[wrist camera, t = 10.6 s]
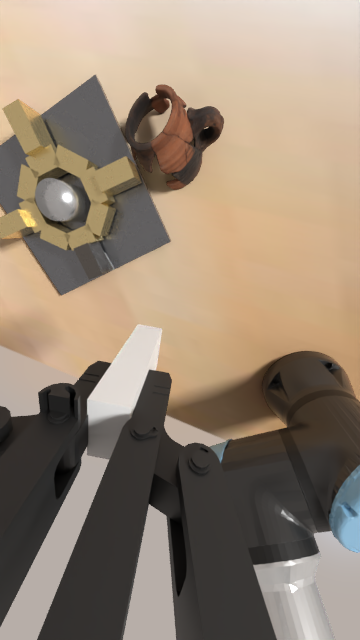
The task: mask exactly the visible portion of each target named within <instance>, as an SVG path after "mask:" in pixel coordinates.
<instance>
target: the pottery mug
mask: <svg viewBox="0 0 360 640" xmlns="http://www.w3.org/2000/svg"><path fill="white" fill-rule="evenodd" d="M156 93H157V95H155V96H154V97H152V98H151V99H149V97H148V94H147V93H145V92H144V93H142V94H141V96H139V98H138V99H137V100H136V102H135V103H134V104H133V106H132V108H131V110H130V112H129V115H128V118H127V122H126V129H125V134H126V139H127V142H128V143H129V144H130V146H131V151H132V155H133V158H134V160H136V159H137V158H138V161H139V162H140V164H141V165H142V166H143V169H144V170H145V171H147V172H150V173H151V172H152V167H151V165H152V161H153V159H154V157H155V155H156V156H157V160H158V163H159V166H160V169H161V171H163V172H164V173H166V174H169V173H172V175H173V176H174V177H176V178H177V179H174V180H171V181H167V186H169V187H170V188H172V189H174V190H175V189H180V188H182V187H184V186H186V185H188V184H189V183H190V182H191V181H193V179H194V178H195V177H196V176H197V174H198V172H199V170H200V167H201V164H202V152H203V151H204V150H205V149H206V148H207V147H208V146H209V145H211V144H212V143H214V142H215V141H216V140H217V139H218V138H219V136H220V134H221V132H222V129H223V124H224V119H223V117H222V116H221V115H220V112H219V111H218V110H217V109H216V108H215V107H211V106H207V107H204V108H201V109H193V108H188V110H187V113H186V110H185V109H184V108H185V107H186V103H185V102H184V101H183V100H182V99H181V98H180V97H179V96H177V95H176V93H175V91H174V90H173V89H172V88H171V87H169V86H167V85H158V86H156ZM166 98H168V99H170V100H171V103H172V110H171V114H170V118H169V120H168V122H167V125H166V126H165V128H164V129H163V131H162V132H161V133H160V134H159V135H158V136H157V137H156V138H155V139H153V140H152V141H151V142H148V143H144V144H140V143H137V142H136V141H135V139H134V138H135V133H136V131H137V129H138V126H139V124H140V122H141V120H142V118H143V117H144V116H145V115H146V114H148V113H149V112H150V111H152V110H153V109H155V110H156V111H158V112H159V113H164V112H165V111H166V110H167V109H168V108H169V106H170V105H169V101H168V100H166ZM206 127H208V128H207V129H204V128H206ZM193 138H194V147H193V146H192V145H191V144H190V143H191V141H192V140H193ZM136 155H137V158H136Z"/></svg>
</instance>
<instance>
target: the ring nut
mask: <svg viewBox="0 0 360 640" xmlns="http://www.w3.org/2000/svg"><path fill="white" fill-rule="evenodd" d="M3 111H4V113H5V115H6V117H7V119H8V121H9V123H10V125H11V127H12V129H13V131H14V133H15V135H16V137H17V138H18V140H19V142H20V144H21V146H22V148H23V150H24V152H25V154H27V155H29V156H28V157H26V158H25V159H26V161H27V163H28V165H29V166H26V165H23V164H21V170H20V178H19V185H18V192H17V196H18V197H20V198H22V199H24V200H25V201H23V202H21V203H19V205H20V207H21V209H22V210H21V209H17V210H14V211H12V212H10V213H8V214H6V215H4V216H2V217H0V238H1V239H9V238H22V237H24V236H26V235H28V234H31V233H33V232H34V233H41V235H40V238H41V239H43V240H45V241H47V242H49V243H52V244H54V245H56V246H58V247H60V248H62V249H64V250H72V251H75V253H76V255H77V257H78V259H79V261H80V263H81V265H82V267H83V269H84V271H85V273H86V275H87V277H88V279H89V280H90V279H92V278H95V277H98V276H100V275H103V274H105V273H107V272H109V271H111V270H112V268H111V266H110V264H109V262H108V259H107V257H106V255H105V253H104V251H103V249H102V246H101V244H100V241H103V240H104V239H103V236H108V233H109V230H110V227H111V224H112V221H113V217H114V214H115V211H116V209H115V208H113V207H111V206H109V205H111V204H113V203H115V200H114V197H113V196H114V195H116V194H119V193H121V192H123V191H125V190H127V189H130V188H132V187H134V186H136V185H138V184H141V183H142V182H141V180H140V177H139V174H138V171H137V169H136V166H135V164H134V163H133V162H132V161H131V160H130V159H129V158H128V157H127V156H125V157H123V158H121V159H119V160H117V161H115V162H113V163H111V164H109V165H107V166H104V167H102V168H100V169H98V166H97V165H96V164H94V163H92V162H91V161H89V160H87V159H85V158H83V157H81V156H79V155H77V154H76V153H74V152H72V151H70V150H68V149H66V148H64V147H62V146H60V145H58V146H57V147H55V145H54V143H53V141H52V138H51V136H50V134H49V132H48V130H47V128H46V125H45V123H44V121H43V119H42V117H41V115H40V114H39V113H37V112H36V111H34V110H33V109H32V108H30V107H29V106H27V105H26V104H25V103H23V102H22V101H20V100H19V99H17V100H16V101H14V102H13V103H11V104H9V105H8V106H6V107H4V108H3ZM67 173H71V174H73V175H75V176H77V177H79V178H80V179H81V181H82V184H83V186H84V188H85V190H86V193H87V195H88V197H89V199H90V201H91V206H90V210H89V213H88V217H87V221H86V225H85V226H83V227H80V228H78V229H76V230H74V231H72V230H70V229H68V228H66V227H64V226H62V225H59V224H58V222H57V221H54V220H51V219H49V218H47V217H46V216H45V215H43V214H42V212H41V211H40V210H39V208H38V206H37V203H36V199H35V190H36V187H37V185H38V183H39V182H40V181H41V180H43V179H45V178H54V179H57V178H59V177H61V176H63V175H65V174H67Z"/></svg>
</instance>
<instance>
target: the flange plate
mask: <svg viewBox="0 0 360 640" xmlns="http://www.w3.org/2000/svg"><path fill="white" fill-rule="evenodd" d="M41 117H42V119H43V121H44V123H45V125H46V128H47V130H48V132H49V134H50V136H51V138H52V141H53V143H54V145H55V147H57V146H58V145H60V146H62V147H64V148H66V149H68V150H70V151H72V152H74V153H76V154H77V155H79V156H81V157H83V158H85V159H87V160H89V161H91V162H92V163H94V164H96V165H97V166H98V169H100V168H102V167H104V166H107V165H109V164H111V163H113V162H115V161H117V160H119V159H121V158H123V157H125V156H127V157H128V158H129V159H130V160H131V161H132V162H133V163H134V164H135V166H136V169H137V171H138V174H139V177H140V180H141V182H142V183H141V184H138V185H136V186H134V187H132V188H130V189H127V190H125V191H123V192H121V193H119V194H116V195H114V196H113V197H114V200H115V203H113V204H111V205H109V206H111V207H113V208H115V209H116V211H115V214H114V217H113V221H112V224H111V227H110V230H109V233H108V236H103V239H104V240H103V241H100V244H101V246H102V249H103V251H104V253H105V255H106V257H107V259H108V262H109V264H110V266H111V268H112V270H114V269H116V268H118V267H120V266H122V265H124V264H126V263H128V262H130V261H132V260H134V259H136V258H138V257H140V256H142V255H144V254H146V253H148V252H150V251H152V250H154V249H156V248H158V247H160V246H162V245H164V244H167V243H169V242H171V240H170V237H169V235H168V233H167V231H166V229H165V226H164V224H163V222H162V220H161V217H160V215H159V213H158V211H157V208H156V206H155V204H154V202H153V200H152V197H151V195H150V193H149V191H148V188H147V186H146V184H145V182H144V179H143V177H142V175H141V173H140V171H139V168H138V166H137V164H136V162H135V160H134V158H133V155H132V153H131V151H130V148H129V146H128V144H127V142H126V139H125V137H124V135H123V133H122V130H121V128H120V126H119V124H118V122H117V119H116V117H115V115H114V113H113V110H112V108H111V106H110V104H109V101H108V99H107V97H106V95H105V93H104V90H103V88H102V86H101V84H100V81H99V79H98V78H97V76H96V75H94V76H93V77H91V78H90V79H89V80H87V81H86V82H85V83H83V84H82V85H81V86H79V87H78V88H77V89H75V90H74V91H73V92H71V93H70V94H69V95H67V96H66V97H65V98H63V99H62V100H61V101H59V102H58V103H57V104H55V105H54V106H53V107H51V108H50V109H49V110H47V111H46V112H45V113H43V114H42V115H41ZM28 156H29V155H27V154H25V152H24V150H23V148H22V146H21V144H20V142H19V140H18V138H17V137H16V135H14V136H13V137H11V138H10V139H9V140H7V141H6V142H5V143H3V144H2V145H1V146H0V204H1V205H2V207H3V208H4V210H5V211H6V213H7V214H8V213H10V212H12V211H14V210H17V209H21V207H20V205H19V203H21V202H23V201H25V200H24V199H22V198H20V197H18V196H17V192H18V185H19V178H20V170H21V164H23V165H26V166H29V165H28V163H27V161H26V159H25V158H26V157H28ZM35 199H36V203H37V206H38V208H39V210H40V211H41V212H42V214H43V215H45V216H46V217H47V218H49V219H51V220H54V221H57V222H58V224H59V225H62V226H64V227H66V228H68V229H70V230H72V231H74V230H76V229H78V228H80V227H83V226H85V225H86V221H87V217H88V213H89V210H90V206H91V201H90V199H89V197H88V195H87V193H86V190H85V188H84V186H83V184H82V181H81V179H80V178H79V177H77V176H75V175H73V174H71V173H67V174H65V175H63V176H61V177H59V178H57V179H54V178H45V179H43V180H41V181H40V182H39V183H38V185H37V187H36V190H35ZM21 210H22V209H21ZM40 235H41V233H34V232H33V233H31V234H28V235H26V236H24V237H23V238H24V240H25V241H26V243H27V244H28V246H29V247H30V249H31V250H32V252H33V253H34V255H35V257H36V258H37V260H38V261H39V263H40V264H41V266H42V267H43V269H44V270H45V272H46V273H47V275H48V276H49V278H50V279H51V281H52V282H53V284H54V285H55V287H56V288H57V290H58V291H59V293H60V294H61V295H63V294H65V293H67V292H69V291H71V290H73V289H75V288H77V287H79V286H81V285H83V284H85V283H88V282H90V281H92V280H94V279H96V278H98V277H100V276H102V275H100V276H98V277H95V278H92V279H90V280H89V279H88V277H87V275H86V273H85V271H84V269H83V267H82V265H81V263H80V261H79V259H78V257H77V255H76V253H75V251H72V250H64V249H62V248H60V247H58V246H56V245H54V244H52V243H49V242H47V241H45V240H43V239H41V238H40ZM112 270H111V271H112ZM109 272H110V271H109ZM107 273H108V272H107ZM105 274H106V273H105ZM103 275H104V274H103Z"/></svg>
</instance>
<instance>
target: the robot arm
mask: <svg viewBox="0 0 360 640" xmlns="http://www.w3.org/2000/svg"><path fill="white" fill-rule="evenodd" d="M161 334H162V328H156V327H151V326H145V325H139V324H138V325H137V326H136V328H135V329H134V331H133V332H132V334H131V335H130V337H129V338H128V340H127V341H126V343H125V344H124V346H123V347H122V349H121V350H120V352H119V353H118V355H117V356H116V358H115V359H114V361H113V362H112V363H108V362H102V361H97V362H96V363H94V364H92V365H90V366H89V367H88V369H87V370H86V371H85V372H84V374H83V375H82V376H81V377H80V378H79V380H78V381H77V382H76V383H75V384H74V385H72V384H69V383H59V384H53V385H51V386H48V387H46V388H44V389H42V390H41V391H40V392H39V393H38V395H39V404H40V413H39V414H37V415H31V416H18V417H11V415H10V411H9V410H8V409H7V408H6V407H1V406H0V626H1V625H2V622H3V621H4V619H5V616H6V615H7V613H8V611H9V609H10V607H11V605H12V603H13V601H14V599H15V597H16V595H17V593H18V591H19V589H20V587H21V585H22V583H23V581H24V579H25V577H26V575H27V573H28V571H29V569H30V567H31V565H32V563H33V561H34V559H35V557H36V555H37V553H38V551H39V549H40V547H41V545H42V543H43V541H44V539H45V537H46V535H47V533H48V531H49V529H50V527H51V525H52V523H53V522H54V519H55V517H56V516H57V514H58V512H59V510H60V507H61V506H62V504H63V502H64V500H65V498H66V496H67V494H68V492H69V490H70V488H71V486H72V484H73V482H74V480H75V478H76V476H77V474H78V472H79V470H80V466H81V457H82V454H83V453H84V451H85V449H86V447H87V455H90V456H95V457H100V458H105V459H110V460H109V463H108V465H107V467H106V470H105V472H104V475H103V477H102V480H101V483H100V485H99V487H98V490H97V492H96V495H95V497H94V500H93V502H92V505H91V508H90V510H89V512H88V515H87V518H86V520H85V522H84V525H83V527H82V530H81V532H80V535H79V537H78V540H77V542H76V544H75V547H74V550H73V552H72V555H71V557H70V560H69V562H68V564H67V567H66V569H65V572H64V574H63V577H62V579H61V582H60V584H59V587H58V589H57V592H56V594H55V597H54V599H53V602H52V604H51V607H50V609H49V612H48V614H47V617H46V619H45V622H44V624H43V627H42V629H41V632H40V634H39V636H38V639H37V640H123V635H124V630H125V625H126V620H127V614H128V609H129V603H130V599H131V594H132V588H133V583H134V578H135V573H136V567H137V563H138V557H139V552H140V546H141V542H142V536H143V532H144V526H145V521H146V516H147V511H148V505H149V504H150V505H151V506H153V507H155V508H156V509H158V510H159V511H160V512H162V513H163V514H165V515H166V516H167V525H168V539H169V551H170V564H171V577H172V589H173V602H174V615H175V627H176V640H335V637H334V634H333V631H332V628H331V625H330V622H329V619H328V616H327V613H326V610H325V607H324V604H323V602H322V599H321V596H320V593H319V590H318V587H317V584H316V580H315V573H316V570H317V567H318V563H319V560H320V557H321V554H320V551H319V549H318V546H317V544H316V541H315V538H314V533H317V532H326V531H332V533H333V535H334V537H336V538H337V539H338V541H339V542H340V543H341V544H342V545H343V546H344V547H345V548H347V549H349V550H351V551H353V552H357V553H358V552H360V402H359V401H358V400H357V399H356V396H355V394H354V391H353V388H352V386H351V383H350V381H349V378H348V376H347V374H346V372H345V371H344V369H343V368H342V367H341V366H340V365H339V364H338V363H337V362H336V361H335V360H334V359H332V358H331V357H329V356H327V355H325V354H322V353H319V352H312V351H304V352H297V353H293V354H290V355H287V356H285V357H283V358H281V359H280V360H278V361H277V362H275V363H274V364H273V365H272V366H271V367H270V368H269V370H268V371H267V373H266V374H265V376H264V379H263V383H262V390H263V394H264V397H265V400H266V402H267V404H268V406H269V407H270V409H271V410H272V411H273V412H274V413H275V414H276V415H277V416H278V417H279V418H280V420H281V421H282V422H283V423H284V424H285V425H286V426H287V428H283V429H278V430H274V431H270V432H266V433H261V434H257V435H253V436H248V437H244V438H239V439H235V440H232V439H228V440H227V441H226V442H223V443H220V444H216V445H213V446H210V447H208V446H206V445H204V444H200V443H192V444H188V445H187V446H185V447H184V446H182V445H180V444H178V443H176V442H175V441H173V440H172V439H171V438H170V437H169V436H168V435H167V433H166V431H165V428H164V421H165V416H166V411H167V406H168V400H169V394H170V389H171V383H172V379H171V377H170V374H169V373H165V372H160V371H156V367H157V362H158V355H159V348H160V341H161Z"/></svg>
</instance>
